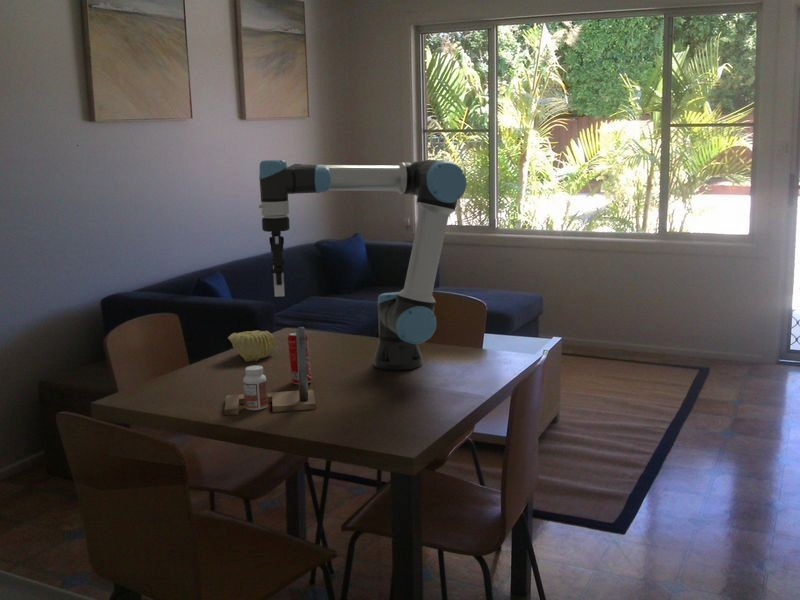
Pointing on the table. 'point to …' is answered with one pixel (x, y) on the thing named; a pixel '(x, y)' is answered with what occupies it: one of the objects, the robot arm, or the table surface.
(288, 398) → the notched tan block
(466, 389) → the table surface
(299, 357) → the hook post
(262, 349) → the seashell
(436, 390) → the table surface
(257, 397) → the pill bottle
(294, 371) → the beverage can
